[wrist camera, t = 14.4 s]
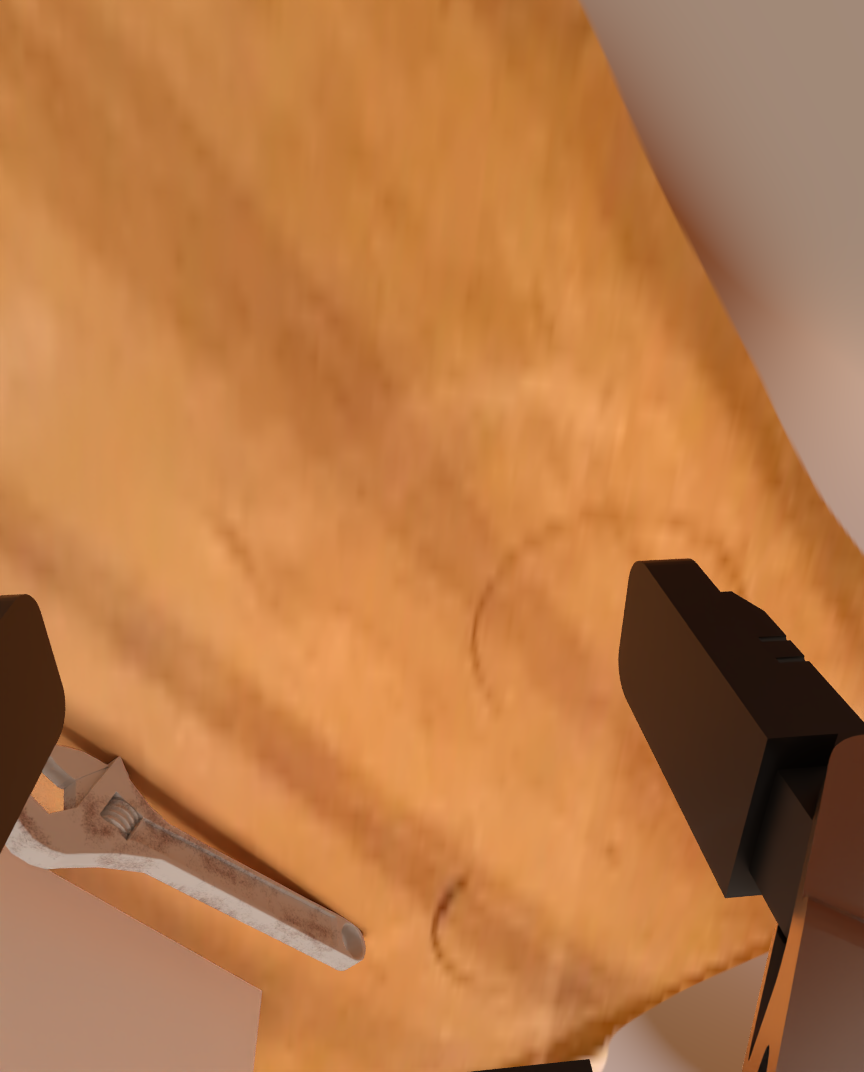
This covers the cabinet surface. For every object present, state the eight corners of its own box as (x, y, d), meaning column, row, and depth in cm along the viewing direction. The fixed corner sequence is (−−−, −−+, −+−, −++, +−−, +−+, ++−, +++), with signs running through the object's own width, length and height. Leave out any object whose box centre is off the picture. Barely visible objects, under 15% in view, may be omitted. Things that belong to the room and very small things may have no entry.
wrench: (344, 905, 59) (18, 721, 44) (362, 895, 59) (39, 705, 44) (352, 1012, 53) (-30, 839, 37) (372, 1001, 52) (-6, 821, 37)
